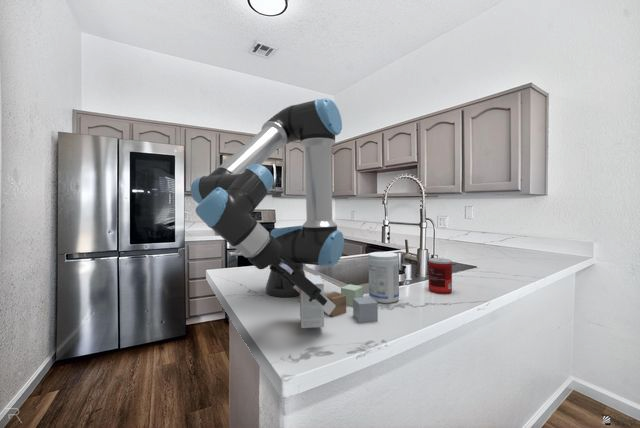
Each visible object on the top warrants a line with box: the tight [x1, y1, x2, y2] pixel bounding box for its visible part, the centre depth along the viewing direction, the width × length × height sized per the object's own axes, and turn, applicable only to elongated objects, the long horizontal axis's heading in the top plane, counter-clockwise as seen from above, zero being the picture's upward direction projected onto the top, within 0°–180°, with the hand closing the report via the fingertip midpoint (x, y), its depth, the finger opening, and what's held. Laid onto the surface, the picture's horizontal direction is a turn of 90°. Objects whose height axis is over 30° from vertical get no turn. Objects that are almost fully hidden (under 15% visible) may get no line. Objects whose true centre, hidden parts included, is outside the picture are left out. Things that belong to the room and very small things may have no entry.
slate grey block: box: [352, 296, 379, 324], centre depth 75 cm, size 5×5×5 cm
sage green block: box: [340, 283, 364, 307], centre depth 87 cm, size 5×5×5 cm
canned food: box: [427, 257, 453, 295], centre depth 99 cm, size 8×8×11 cm
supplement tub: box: [367, 251, 400, 304], centre depth 91 cm, size 10×10×15 cm
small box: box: [299, 275, 325, 329], centre depth 70 cm, size 8×6×10 cm
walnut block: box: [324, 291, 347, 318], centre depth 80 cm, size 5×5×5 cm
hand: (321, 303), depth 71 cm, fingers closed on small box, 9 cm apart
